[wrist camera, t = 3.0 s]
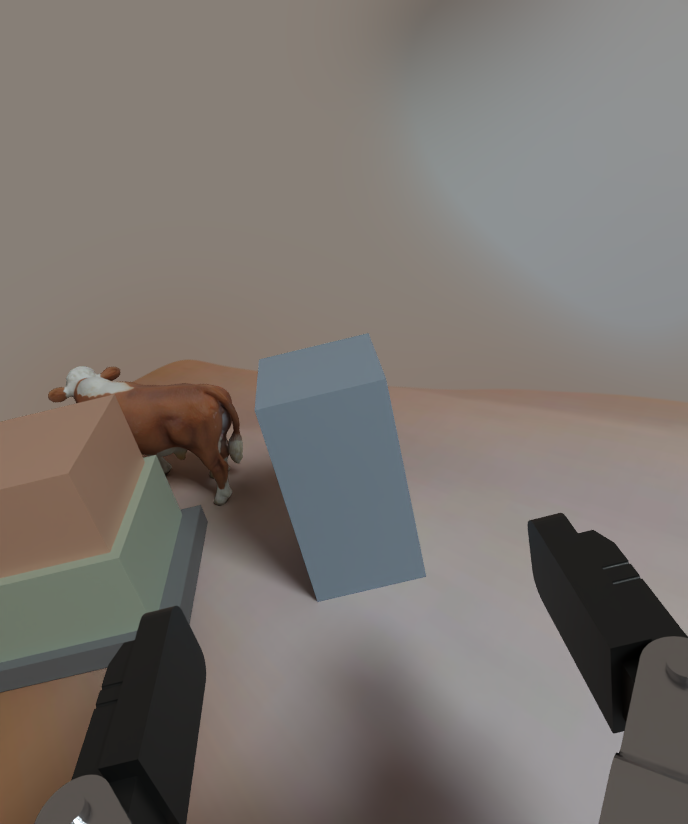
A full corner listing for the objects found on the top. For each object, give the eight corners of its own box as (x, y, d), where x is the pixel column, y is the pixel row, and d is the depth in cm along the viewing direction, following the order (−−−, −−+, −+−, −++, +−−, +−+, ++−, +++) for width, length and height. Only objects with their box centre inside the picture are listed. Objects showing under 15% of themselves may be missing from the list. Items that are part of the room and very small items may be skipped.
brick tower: (-58, 706, 26) (-190, 547, 22) (21, 565, 34) (-64, 429, 30) (184, 649, 26) (99, 478, 22) (207, 521, 34) (148, 378, 30)
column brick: (317, 601, 27) (254, 410, 22) (312, 531, 31) (259, 359, 26) (426, 576, 27) (385, 378, 22) (405, 509, 31) (368, 333, 26)
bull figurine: (125, 455, 43) (78, 354, 40) (274, 473, 37) (235, 354, 33) (79, 491, 40) (23, 385, 36) (233, 519, 34) (185, 393, 30)
